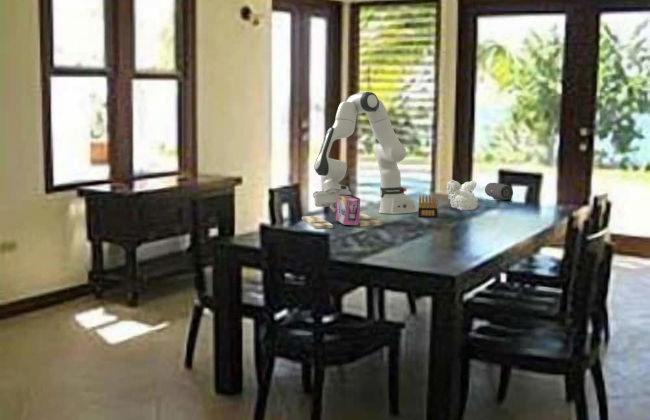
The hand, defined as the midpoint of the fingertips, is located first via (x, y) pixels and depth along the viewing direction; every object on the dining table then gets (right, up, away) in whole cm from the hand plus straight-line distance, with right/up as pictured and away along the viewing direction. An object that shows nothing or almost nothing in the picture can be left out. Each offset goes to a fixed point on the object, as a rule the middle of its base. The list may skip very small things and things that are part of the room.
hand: (335, 211), depth 471 cm
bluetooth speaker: (+100, +7, +77) cm, 126 cm away
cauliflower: (+73, +2, +40) cm, 83 cm away
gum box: (+6, -6, -8) cm, 12 cm away
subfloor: (+2, -5, -2) cm, 6 cm away
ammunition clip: (+49, -3, +5) cm, 49 cm away
